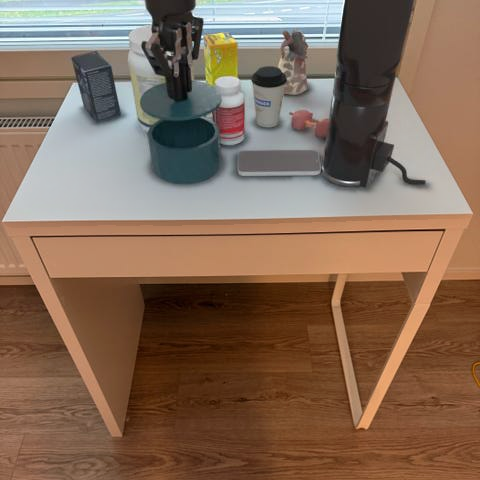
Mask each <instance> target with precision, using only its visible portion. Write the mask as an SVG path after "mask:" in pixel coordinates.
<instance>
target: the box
mask: <svg viewBox="0 0 480 480" xmlns="http://www.w3.org/2000/svg"><path fill="white" fill-rule="evenodd" d="M70 58H71V62H72V66H73V70H74V75H75V79H76V82H77V86H78V89H79V94H80V97H81V102H82V104H83V108H84V109H85V110H86V111H87V113H88V114H89V115H90V116H91V117H92V118H93V120H94V122H96V123H102V122H105V121H109V120H112V119H116V118H119V117H121V116H122V113H121V108H120V103H119V99H118V93H117V88H116V82H115V78H114V73H113V68H112V64H111V63H110V62H108V61H107V60H106V59H105V58H104V57H103V56H102V55H101V54H100V53H99V52H98V51H97V50H94V51H91V52H87V53H82V54H81V53H80V54H77V55H74V56H71V57H70Z"/></svg>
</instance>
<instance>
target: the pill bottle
mask: <svg viewBox="0 0 480 480" xmlns="http://www.w3.org/2000/svg"><path fill="white" fill-rule="evenodd" d="M215 88H217V89H218V90H219V91H220V93H221V96H222V101H221V104H220V106H219V107H218V108H217V109H216V110H215V111H213V112H212V113H211V115H212V121H214V122H215V123H217V125H218V127H219V129H220V144H221V145H224V146H234V145H238V144H240V143H241V142H243V140H244V139H245V133H246V131H245V129H246V127H245V125H246V124H245V123H246V122H245V121H246V118H245V117H246V114H245V113H246V112H245V107H246V106H245V105H246V104H245V102H246V101H245V100H246V99H245V94H244V93H243V92H242V91H241V88H242V83H241V79H239V77H238V78H236V77H232V76H225V77H220V78H218V79H216V80H215Z"/></svg>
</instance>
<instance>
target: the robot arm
mask: <svg viewBox="0 0 480 480" xmlns="http://www.w3.org/2000/svg"><path fill="white" fill-rule="evenodd" d="M143 5H144V9H145V10H146V12H148V13H149V15H150V16H151V25H152V27H151V31H152V36H151V37H150V39H149V41H148V42H147V41H143V42H142V44H141V48H142V50H143V52H144V54H145V55H146V57H147V59H148V61H149V63H150V65H151V67H152V69H153V71H154V72H155V74H156V75H160V76H164V77H165V80H166V87H167V94H168V96H169V98H171V99H174V100H179V99H181V98H182V94H181V85H180V76H178V75H179V64H183V65H184V66H185V72H186V82H187V92H188V93H189V92H190V91H192V80H191V79H192V78H191V67H192V65H193V66H194V61H197V60H198V59H199V55H200V49H201V41H202V35H203V29H204V23H205V21H204V18H203V17H199V16H196V15H194V14H193V11H194V10H195V9H196V7H197V0H143ZM414 5H415V0H343V2H342V10H341V17H340V25H339V34H338V42H337V49H336V64H335V72H334V79H333V85H332V93H331V101H330V108H329V116H328V118H329V122H328V129H327V137H325V144H324V147H323V148H324V151H323V156H322V157H323V159H322V164H321V174H322V176H323V178H324V179H326V181H328V182H330V183H332V184H334V185H337V186H339V187H340V186H341V187H346V188H347V187H348V188H355V187H361V188H367V187H368V186H369V184H370V182H371V181H372V180H373V179H374V177H375V175H376V174H377V173H378V172H380V173H383V172H384V171H385V169H386V167H387V166H388V165H389V163H390V164H391V165H393V166H395V167H396V168H397V169H398V170H400V172H401V177H402V180H403V181H404V182H405V183H407V184H411V185H423V186H425V185H426V183H427V180H425V179H411V178H409V177H408V175H407V173H408V172H407V169H406V168H405V166H404V165H403V164H402V163H400V162H399V161H397V160H396V159H394V158H393V156H392V155H393V152H394V149H395V148H394V147H395V144H393V143H390V142H386V141H385V139H386V135H387V132H388V127H389V121H388V120H387V117H388V113H389V109H390V104H391V100H392V99H391V98H392V96H393V91H394V90H393V89H394V86H395V81H396V77H397V73H398V70H399V66H400V63H401V60H402V57H403V51H404V47H405V43H406V40H407V35H408V31H409V27H410V22H411V18H412V13H413V10H414ZM167 51H169V52H174V53H169V52H167ZM168 60H169V61H171V63H172V68H171V67H170V66H169V64H168Z"/></svg>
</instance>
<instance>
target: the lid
mask: <svg viewBox="0 0 480 480" xmlns="http://www.w3.org/2000/svg"><path fill="white" fill-rule="evenodd" d="M170 67H171V68H172V65H171V66H170ZM178 76H180V85H181V94H182V98H181V99H179V100H174V99H171V98H169V96H168V94H167V87H166V83H162V84H159V85H156V86H154V87H152V88H150V89H148V90H147V91H146V92H145V93H144V94H143V95H142V96H141V98H140V106H141V108H142V110H143V111H144V112H145V113H146V114H148V115H150V116H152V117H155V118H158V119H162V120H170V121H183V120H191V119H196V118H200V117H206V116H207V115H210V114H212V112H213V111H215V110H216V109H217V108H218V107H219V106H220V104H221V101H222V96H221V93H220V91H219V90H218V89H217V88H215V87H214V86H212V85H210V84H207V83H206V82H203V81H199V80H194V81H192V91H190V92H189V93H188V92H187V82H186V72H185V66H184V65H183V64H179V75H178Z"/></svg>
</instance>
